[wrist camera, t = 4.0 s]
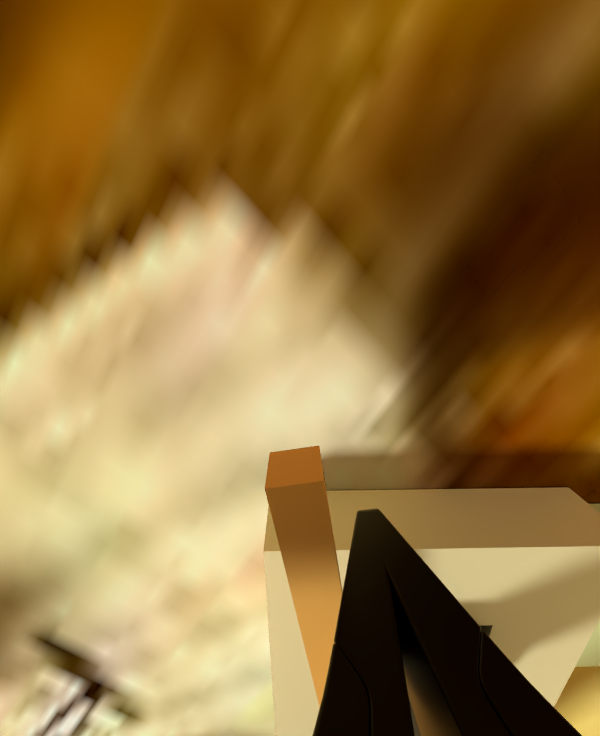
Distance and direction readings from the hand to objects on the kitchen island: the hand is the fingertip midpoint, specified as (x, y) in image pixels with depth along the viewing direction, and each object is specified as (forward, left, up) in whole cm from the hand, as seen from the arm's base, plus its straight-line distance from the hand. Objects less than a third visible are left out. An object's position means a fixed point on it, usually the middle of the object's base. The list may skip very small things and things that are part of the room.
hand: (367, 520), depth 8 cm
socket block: (-10, -4, -5) cm, 12 cm away
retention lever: (-7, 0, 0) cm, 7 cm away
